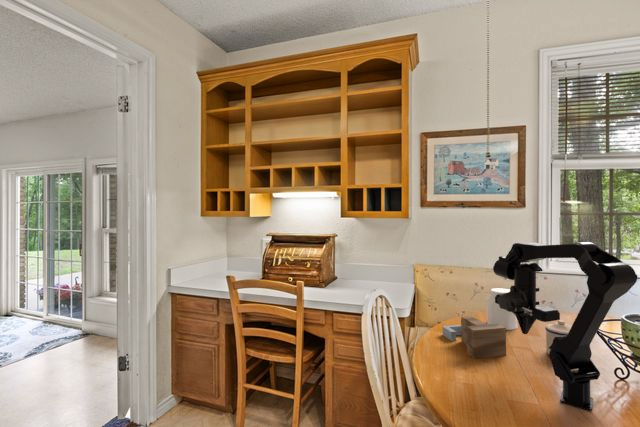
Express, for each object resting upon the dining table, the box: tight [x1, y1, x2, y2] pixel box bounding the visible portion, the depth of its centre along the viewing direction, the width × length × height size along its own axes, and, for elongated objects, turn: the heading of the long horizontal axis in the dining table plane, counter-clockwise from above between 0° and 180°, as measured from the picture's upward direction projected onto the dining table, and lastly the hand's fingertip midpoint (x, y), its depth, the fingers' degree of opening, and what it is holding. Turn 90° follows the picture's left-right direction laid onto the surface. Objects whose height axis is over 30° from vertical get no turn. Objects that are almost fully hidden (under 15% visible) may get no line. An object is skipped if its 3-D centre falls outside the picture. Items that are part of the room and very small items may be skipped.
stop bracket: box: [442, 324, 461, 342], centre depth 133 cm, size 6×11×4 cm, turn 99°
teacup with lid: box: [545, 319, 572, 355], centre depth 116 cm, size 12×9×12 cm
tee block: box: [460, 315, 507, 359], centre depth 122 cm, size 14×12×10 cm
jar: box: [486, 287, 519, 331], centre depth 145 cm, size 12×10×15 cm
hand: (524, 333), depth 105 cm, fingers closed
